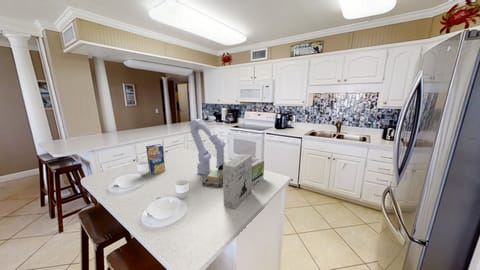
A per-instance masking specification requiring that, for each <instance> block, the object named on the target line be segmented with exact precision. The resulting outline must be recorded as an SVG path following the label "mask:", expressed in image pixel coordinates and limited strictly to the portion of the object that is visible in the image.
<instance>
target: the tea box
mask: <svg viewBox="0 0 480 270" xmlns="http://www.w3.org/2000/svg"><path fill="white" fill-rule="evenodd" d="M264 171H265V160H261V159H258V158H254V157H252V187H253V186H254V184H255V185H256V184H258V183H259V182H260V181H262V180H263V179H264ZM261 179H262V180H261ZM258 181H259V182H258Z"/></svg>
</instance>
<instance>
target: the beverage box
mask: <svg viewBox="0 0 480 270" xmlns="http://www.w3.org/2000/svg"><path fill="white" fill-rule="evenodd" d="M164 154H165V153H164V146H163V144H161V143H157V144H151V145H146V156H147V166H148V172H149V174H150V175H154V174H157V173H162V172H165V171H166V166H165V155H164Z"/></svg>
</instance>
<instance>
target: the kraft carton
mask: <svg viewBox="0 0 480 270" xmlns="http://www.w3.org/2000/svg"><path fill="white" fill-rule="evenodd" d="M206 176H207V177H206V178H208V182H212V183H220V182H221V181H222V179H223V170H218V169H213V170H212V171H211V172H210V173H209V174H208V175H206Z"/></svg>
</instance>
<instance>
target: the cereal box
mask: <svg viewBox="0 0 480 270" xmlns="http://www.w3.org/2000/svg"><path fill="white" fill-rule="evenodd" d="M252 159H253V155H251V154H246V153H240V154H239V155H237V156H235V157H234V158H232V159H230V160H228V161H227V162H226V163H225V164H223V177H222V179H223V185H222V187H223V206H225V207H227V206H228V207H227V208H230V207H231V209H233V208H234V210H236V209H237V208H238V206H239V205H240V204H241V203H242V202H243V201H244V200H245V199H246V198H247V197H248V196H249V195H250V194H251V193H252V187H253V186H252ZM249 193H250V194H249ZM248 194H249V195H248ZM247 195H248V196H247ZM246 196H247V197H246ZM245 197H246V198H245Z"/></svg>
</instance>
